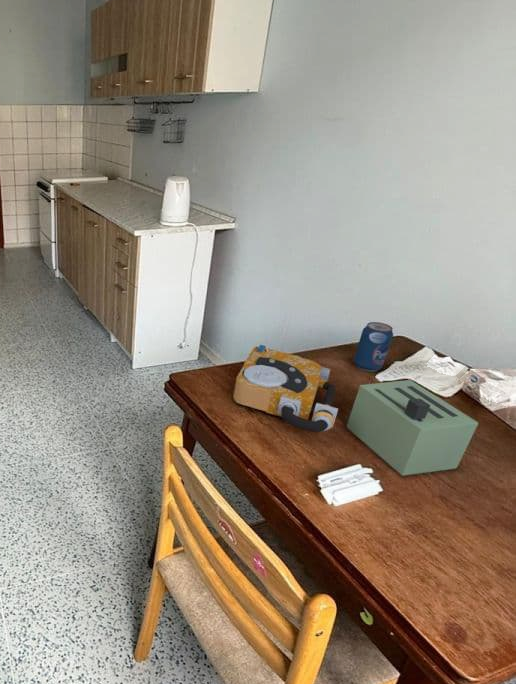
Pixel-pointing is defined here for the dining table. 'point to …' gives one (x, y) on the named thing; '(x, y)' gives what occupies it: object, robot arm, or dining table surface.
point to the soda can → (373, 346)
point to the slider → (417, 409)
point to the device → (286, 388)
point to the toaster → (410, 428)
